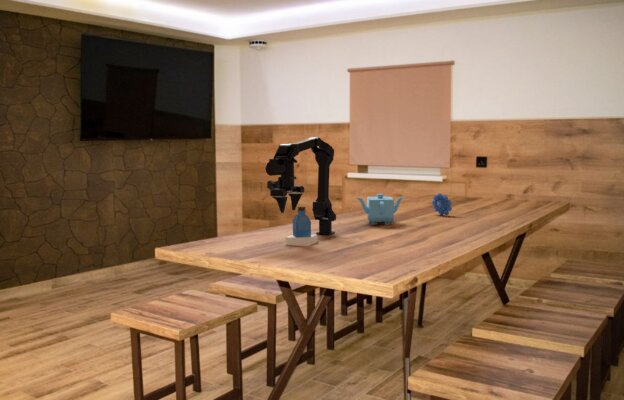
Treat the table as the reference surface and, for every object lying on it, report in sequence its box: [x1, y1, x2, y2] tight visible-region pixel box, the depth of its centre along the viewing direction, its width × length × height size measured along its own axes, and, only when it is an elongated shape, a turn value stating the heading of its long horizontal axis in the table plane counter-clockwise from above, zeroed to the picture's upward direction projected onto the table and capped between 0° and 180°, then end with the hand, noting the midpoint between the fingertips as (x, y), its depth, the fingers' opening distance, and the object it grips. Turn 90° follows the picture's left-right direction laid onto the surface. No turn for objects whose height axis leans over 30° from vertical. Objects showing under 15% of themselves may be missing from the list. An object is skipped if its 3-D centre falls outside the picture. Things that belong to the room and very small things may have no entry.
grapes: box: [431, 192, 453, 216], centre depth 322 cm, size 12×7×12 cm, turn 52°
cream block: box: [285, 233, 318, 247], centre depth 248 cm, size 10×10×4 cm
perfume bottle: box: [292, 206, 312, 238], centre depth 247 cm, size 6×6×12 cm
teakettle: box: [355, 193, 406, 226], centre depth 299 cm, size 19×19×15 cm
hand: (288, 211), depth 250 cm, fingers open, 9 cm apart
